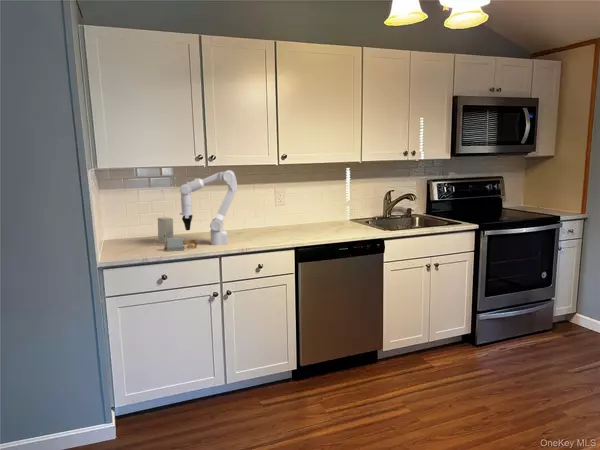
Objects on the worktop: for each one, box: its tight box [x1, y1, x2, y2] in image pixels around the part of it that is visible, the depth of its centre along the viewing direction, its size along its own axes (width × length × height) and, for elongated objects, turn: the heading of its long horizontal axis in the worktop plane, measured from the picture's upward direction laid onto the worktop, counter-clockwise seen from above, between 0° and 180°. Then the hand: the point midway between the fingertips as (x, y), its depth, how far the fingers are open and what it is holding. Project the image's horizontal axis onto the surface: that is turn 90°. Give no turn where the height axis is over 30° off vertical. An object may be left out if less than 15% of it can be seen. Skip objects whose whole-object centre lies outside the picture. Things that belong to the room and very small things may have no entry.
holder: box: [166, 245, 186, 253], centre depth 246 cm, size 9×4×3 cm, turn 101°
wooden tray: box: [164, 239, 198, 251], centre depth 255 cm, size 17×12×4 cm
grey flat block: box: [166, 237, 184, 248], centre depth 245 cm, size 2×8×7 cm, turn 102°
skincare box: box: [157, 216, 174, 243], centre depth 271 cm, size 8×6×15 cm
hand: (188, 229), depth 257 cm, fingers open, 7 cm apart
